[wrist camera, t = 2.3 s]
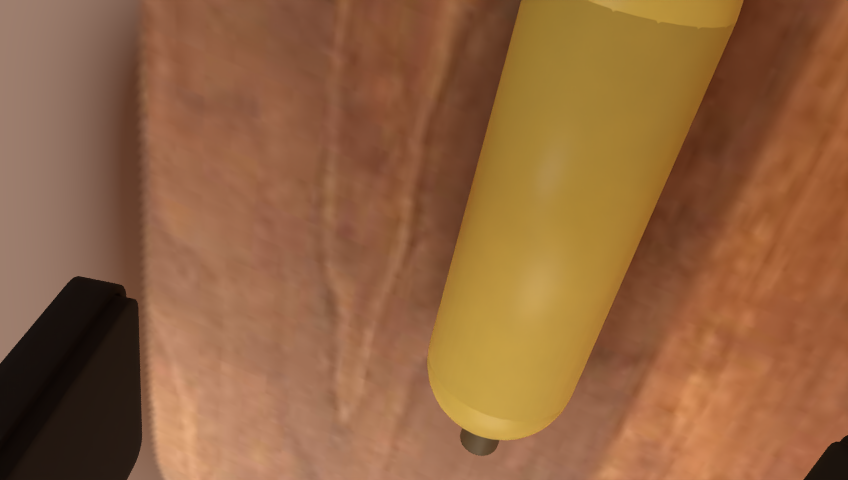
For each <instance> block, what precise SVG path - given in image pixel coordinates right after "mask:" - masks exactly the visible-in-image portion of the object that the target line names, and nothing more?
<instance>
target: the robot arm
mask: <svg viewBox="0 0 848 480" xmlns="http://www.w3.org/2000/svg"><path fill="white" fill-rule="evenodd" d="M141 421H142V419H141V387H140V353H139V317H138V303H137V301H136V300H135V299H131V298H127V297H126V291H125V289H124V287H123V286H122V285H119V284H115V283H110V282H105V281H100V280H95V279H90V278H85V277H80V276H77V277H74V278H73V279H72V280H70V282H68V283H67V285H66V286H65V287H64V288H63V289H62V291H61V292H60V293H59V294H58V295H57V297H56V298H55V299H54V300H53V301H52V303H51V304H50V305H49V306H48V307H47V308H46V310H45V311H44V312H43V313H42V314H41V316H40V317H39V318H38V319H37V320H36V322H35V323H34V324H33V325H32V326H31V328H30V329H29V330H28V331H27V333H26V334H25V335H24V336H23V337H22V338H21V340H20V341H19V342H18V343H17V344H16V346H15V347H14V348H13V349H12V350H11V351H10V353H9V354H8V355H7V356H6V358H5V359H4V360H3V361H2V362H1V363H0V480H127V478H128V476H129V475H130V473H131V471H132V469H133V467H134V465H135V463H136V460H137V458H138V455H139V451H140V447H141V442H142V422H141ZM804 480H848V435H847V436H845V437H844V438H843V439H842V440H841V441H840V442H834V443H832V444H831V445H830V446H829V447H828V448H827V449H826V450H825V452H824V453H823V454H822V456H821V457H820V458H819V460H818V461H817V462H816V464H815V465H814V467H813V468H812V469H811V471H810V472H809V473H808V475H807V476H806V477H805V479H804Z"/></svg>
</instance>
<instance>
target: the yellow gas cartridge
mask: <svg viewBox="0 0 848 480" xmlns="http://www.w3.org/2000/svg"><path fill="white" fill-rule="evenodd" d="M743 1H744V0H521V3H520V7H519V11H518V15H517V18H516V22H515V26H514V30H513V33H512V37H511V41H510V45H509V48H508V52H507V56H506V60H505V63H504V67H503V71H502V74H501V78H500V82H499V86H498V89H497V93H496V97H495V101H494V104H493V108H492V112H491V116H490V119H489V123H488V127H487V131H486V134H485V138H484V142H483V146H482V149H481V153H480V157H479V161H478V164H477V168H476V172H475V175H474V179H473V183H472V187H471V190H470V194H469V198H468V202H467V205H466V209H465V213H464V217H463V220H462V224H461V228H460V232H459V235H458V239H457V243H456V247H455V250H454V254H453V258H452V262H451V265H450V269H449V273H448V276H447V280H446V284H445V288H444V291H443V295H442V299H441V303H440V306H439V310H438V314H437V318H436V321H435V325H434V329H433V333H432V336H431V340H430V344H429V351H428V359H427V366H428V375H429V382H430V385H431V388H432V390H433V393H434V395H435V397H436V399H437V401H438V403H439V405H440V406H441V408H442V409H443V411H444V412H445V413H446V414H447V415H448V416H449V417H450V418H451V419H452V420H453V421H454V422H455V423H457V424H458V425H459V426H461V427H462V431H461V434H460V439H461V442H462V445H463V446H464V447H465V449H466V450H468V451H469V452H471V453H473V454H475V455H479V456H485V455H489V454H491V453H492V452H494V451H495V449H496V448H497V445H498V443H499V440H513V439H520V438H524V437H527V436H530V435H532V434H534V433H537V432H539V431H540V430H542V429H544V428H546V427H547V426H548V425H549V424H550V423H551V422H553V421H554V420H555V419H556V418H557V417H558V416H559V415H560V414H561V413H562V411H563V410H564V408H565V407H566V405H567V403H568V402H569V400H570V398H571V397H572V394H573V392H574V390H575V387H576V385H577V383H578V381H579V378H580V376H581V374H582V372H583V369H584V367H585V365H586V362H587V360H588V358H589V356H590V353H591V351H592V349H593V347H594V344H595V342H596V340H597V337H598V335H599V333H600V331H601V328H602V326H603V324H604V322H605V319H606V317H607V315H608V312H609V310H610V308H611V306H612V303H613V301H614V299H615V297H616V294H617V292H618V290H619V287H620V285H621V283H622V281H623V278H624V276H625V274H626V272H627V269H628V267H629V265H630V263H631V260H632V258H633V256H634V253H635V251H636V249H637V247H638V244H639V242H640V240H641V238H642V235H643V233H644V231H645V228H646V226H647V224H648V222H649V219H650V217H651V215H652V213H653V210H654V208H655V206H656V203H657V201H658V199H659V197H660V194H661V192H662V190H663V188H664V185H665V183H666V181H667V178H668V176H669V174H670V172H671V169H672V167H673V165H674V163H675V160H676V158H677V156H678V153H679V151H680V149H681V147H682V144H683V142H684V140H685V138H686V135H687V133H688V131H689V129H690V126H691V124H692V122H693V119H694V117H695V115H696V113H697V110H698V108H699V106H700V104H701V101H702V99H703V97H704V94H705V92H706V90H707V88H708V85H709V83H710V81H711V79H712V76H713V74H714V72H715V69H716V67H717V65H718V63H719V60H720V58H721V56H722V54H723V51H724V49H725V47H726V44H727V42H728V40H729V38H730V35H731V33H732V31H733V29H734V26H735V24H736V22H737V19H738V16H739V13H740V10H741V7H742V4H743Z"/></svg>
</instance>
